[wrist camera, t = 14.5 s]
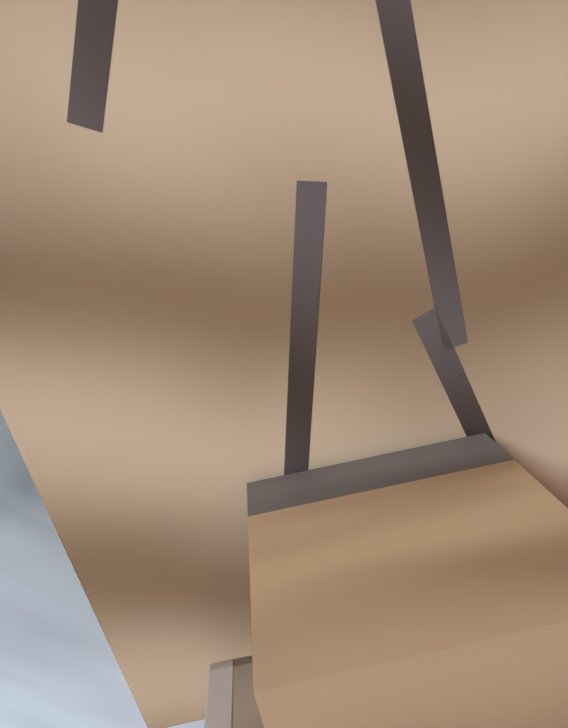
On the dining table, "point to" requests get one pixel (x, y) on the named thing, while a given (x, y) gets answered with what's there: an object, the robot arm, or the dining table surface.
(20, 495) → the dining table surface
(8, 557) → the dining table surface
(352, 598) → the block
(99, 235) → the board
